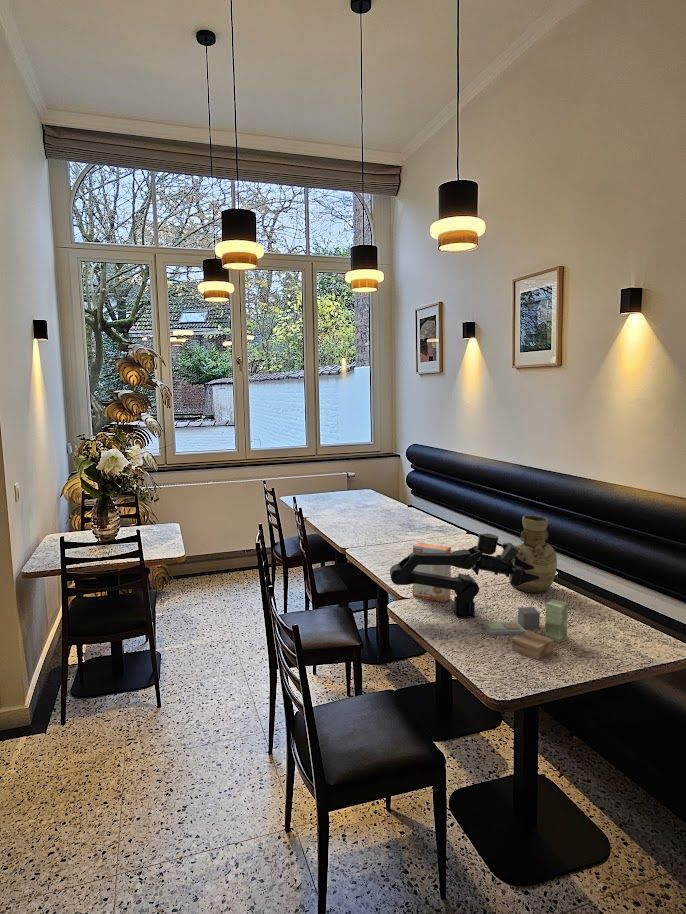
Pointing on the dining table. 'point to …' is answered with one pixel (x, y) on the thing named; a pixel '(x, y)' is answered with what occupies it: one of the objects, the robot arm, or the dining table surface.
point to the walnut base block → (532, 644)
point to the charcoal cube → (528, 617)
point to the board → (503, 628)
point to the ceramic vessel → (537, 554)
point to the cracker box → (441, 570)
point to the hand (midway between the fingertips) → (536, 572)
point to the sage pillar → (556, 620)
